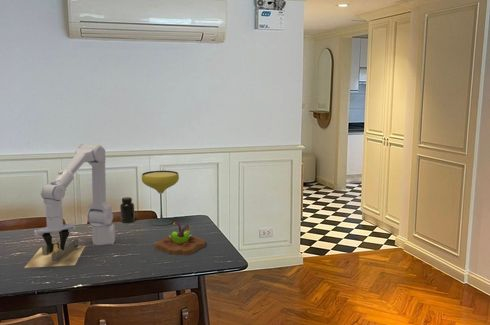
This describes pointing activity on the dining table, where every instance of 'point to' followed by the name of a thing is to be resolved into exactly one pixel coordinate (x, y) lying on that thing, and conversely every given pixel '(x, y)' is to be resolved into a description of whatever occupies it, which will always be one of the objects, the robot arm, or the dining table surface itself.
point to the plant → (180, 242)
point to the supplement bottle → (127, 210)
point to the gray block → (45, 249)
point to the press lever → (59, 253)
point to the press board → (46, 261)
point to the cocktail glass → (160, 187)
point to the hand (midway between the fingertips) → (56, 250)
